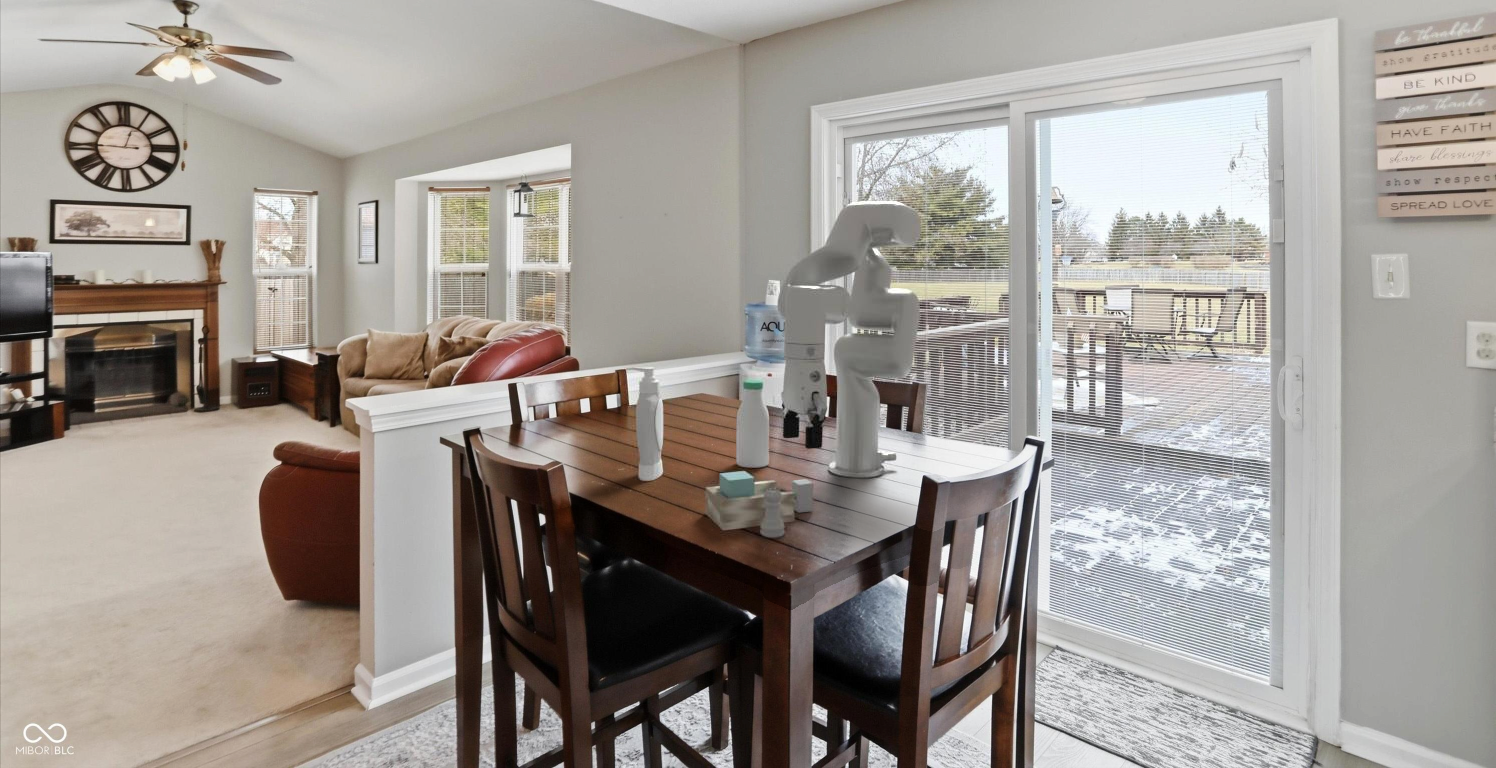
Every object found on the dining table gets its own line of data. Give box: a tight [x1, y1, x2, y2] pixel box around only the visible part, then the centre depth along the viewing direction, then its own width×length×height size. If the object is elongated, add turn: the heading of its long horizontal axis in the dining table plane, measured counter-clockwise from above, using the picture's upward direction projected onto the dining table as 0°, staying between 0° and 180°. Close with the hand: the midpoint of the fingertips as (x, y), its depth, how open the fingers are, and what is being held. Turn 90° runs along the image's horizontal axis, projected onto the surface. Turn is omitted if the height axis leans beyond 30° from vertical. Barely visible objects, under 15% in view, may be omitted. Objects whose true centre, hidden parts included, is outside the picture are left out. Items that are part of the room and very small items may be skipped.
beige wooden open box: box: [704, 479, 795, 531], centre depth 142 cm, size 14×10×5 cm
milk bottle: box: [735, 379, 770, 469], centre depth 179 cm, size 8×8×20 cm
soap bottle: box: [625, 366, 664, 482], centre depth 169 cm, size 13×8×24 cm, turn 174°
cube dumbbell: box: [719, 470, 814, 514], centre depth 143 cm, size 18×5×8 cm, turn 112°
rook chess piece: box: [759, 487, 786, 539], centre depth 133 cm, size 4×4×8 cm
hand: (801, 442), depth 144 cm, fingers open, 9 cm apart
